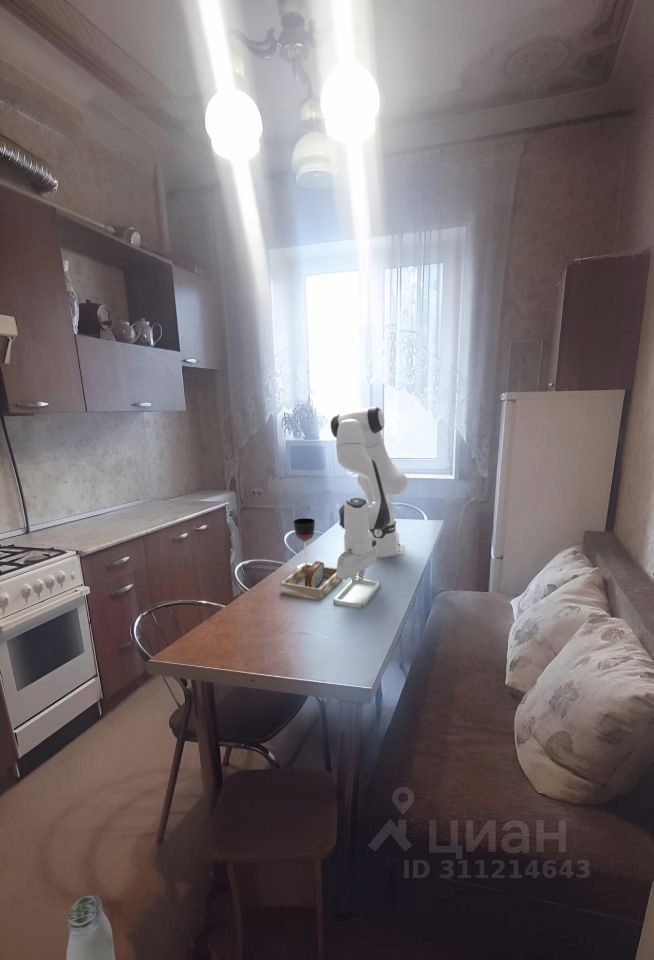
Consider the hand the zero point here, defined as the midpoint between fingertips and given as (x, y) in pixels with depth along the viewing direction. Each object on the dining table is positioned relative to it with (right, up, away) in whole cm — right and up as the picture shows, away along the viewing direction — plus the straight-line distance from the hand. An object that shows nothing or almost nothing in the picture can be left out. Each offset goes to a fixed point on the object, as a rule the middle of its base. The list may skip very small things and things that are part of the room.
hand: (357, 582), depth 154 cm
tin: (-15, -4, +11) cm, 19 cm away
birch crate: (-16, -4, +11) cm, 20 cm away
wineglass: (-20, -1, +29) cm, 35 cm away
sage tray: (0, -5, +1) cm, 5 cm away
